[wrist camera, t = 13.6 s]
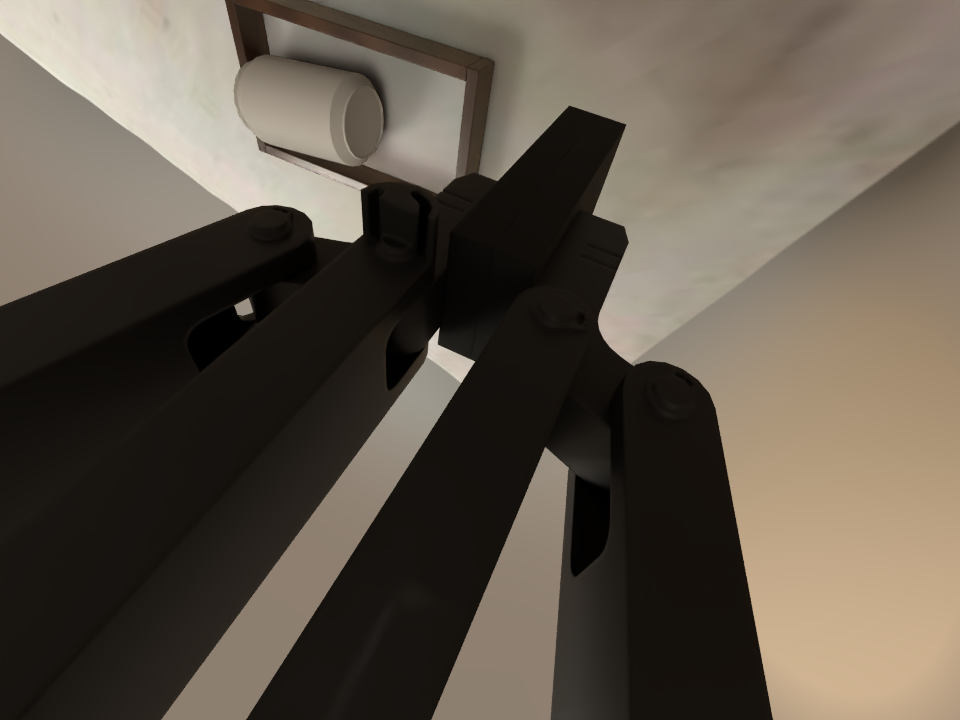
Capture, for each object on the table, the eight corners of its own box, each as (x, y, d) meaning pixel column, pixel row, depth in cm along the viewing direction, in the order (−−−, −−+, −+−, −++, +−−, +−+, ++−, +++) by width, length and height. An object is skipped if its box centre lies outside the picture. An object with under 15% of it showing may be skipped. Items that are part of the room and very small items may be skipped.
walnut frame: (278, 140, 50) (259, 150, 48) (247, -20, 40) (221, -15, 38) (471, 216, 46) (458, 230, 44) (494, 61, 36) (479, 70, 34)
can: (373, 181, 44) (274, 154, 47) (396, 105, 43) (295, 82, 46) (328, 145, 37) (215, 116, 40) (355, 54, 36) (239, 31, 39)
